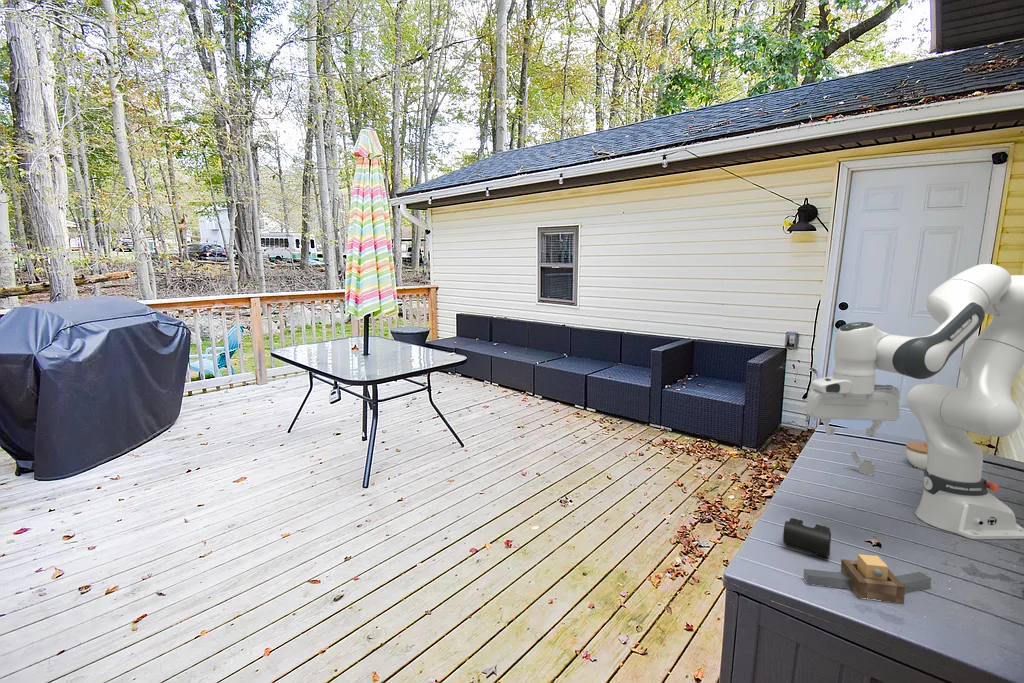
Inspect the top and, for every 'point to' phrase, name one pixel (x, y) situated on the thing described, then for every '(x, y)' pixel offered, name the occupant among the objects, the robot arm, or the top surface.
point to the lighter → (863, 464)
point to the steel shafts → (844, 580)
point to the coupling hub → (873, 584)
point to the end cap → (807, 537)
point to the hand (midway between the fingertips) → (850, 435)
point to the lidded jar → (917, 454)
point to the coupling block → (872, 567)
